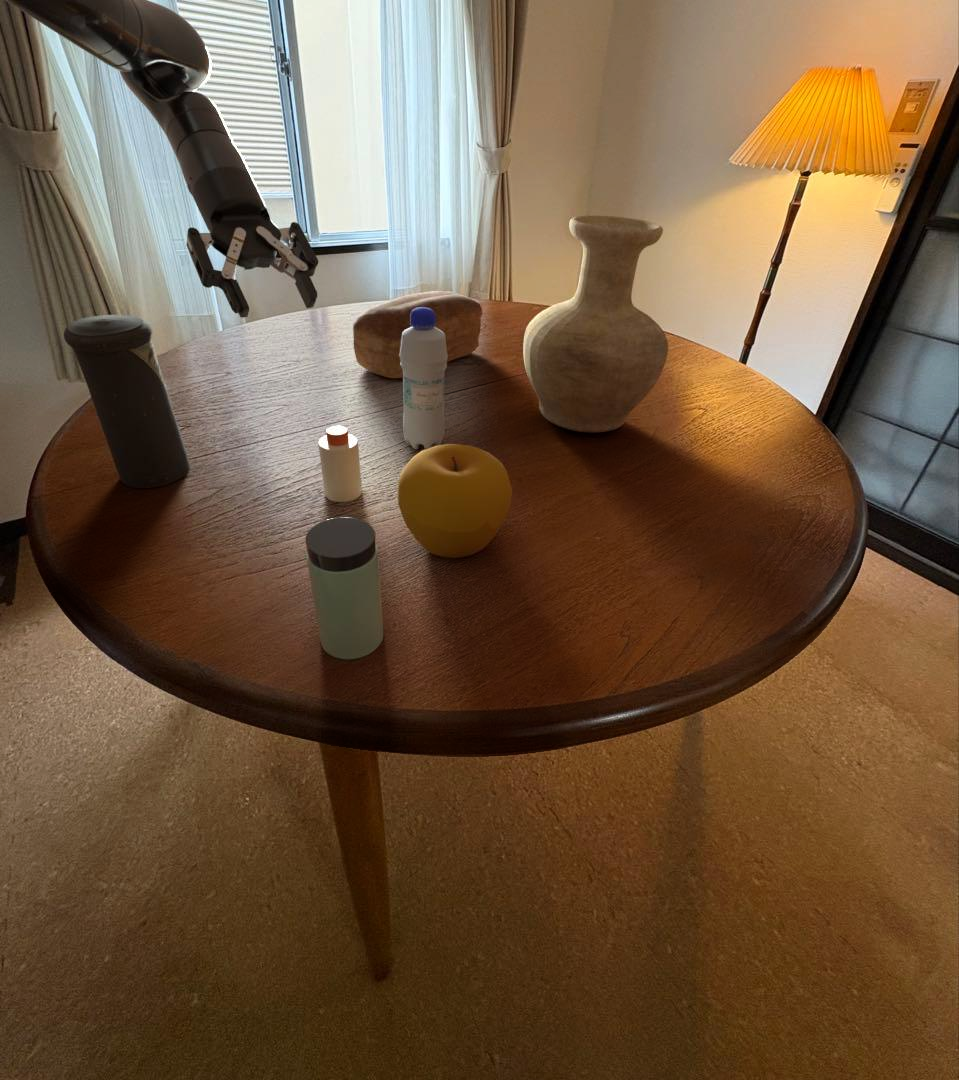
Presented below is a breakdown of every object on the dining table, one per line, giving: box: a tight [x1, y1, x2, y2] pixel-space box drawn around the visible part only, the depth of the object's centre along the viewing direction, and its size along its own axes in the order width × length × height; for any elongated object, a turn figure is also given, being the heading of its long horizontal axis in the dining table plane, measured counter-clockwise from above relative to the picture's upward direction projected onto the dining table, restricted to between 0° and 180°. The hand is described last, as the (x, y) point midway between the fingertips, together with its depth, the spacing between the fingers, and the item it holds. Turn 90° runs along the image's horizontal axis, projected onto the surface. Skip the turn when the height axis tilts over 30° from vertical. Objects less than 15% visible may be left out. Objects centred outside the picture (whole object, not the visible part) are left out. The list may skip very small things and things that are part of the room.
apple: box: [396, 443, 513, 559], centre depth 64 cm, size 13×13×11 cm
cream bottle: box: [317, 425, 363, 503], centre depth 71 cm, size 5×5×9 cm
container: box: [63, 314, 191, 489], centre depth 69 cm, size 9×9×20 cm
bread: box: [352, 290, 483, 379], centre depth 112 cm, size 14×28×12 cm, turn 142°
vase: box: [522, 215, 669, 434], centre depth 87 cm, size 22×22×30 cm
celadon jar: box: [304, 516, 385, 660], centre depth 50 cm, size 6×6×12 cm
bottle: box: [400, 307, 448, 450], centre depth 80 cm, size 7×7×20 cm
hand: (280, 309), depth 69 cm, fingers open, 8 cm apart
